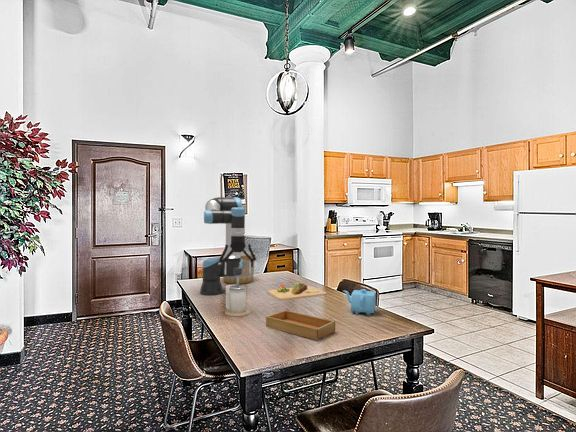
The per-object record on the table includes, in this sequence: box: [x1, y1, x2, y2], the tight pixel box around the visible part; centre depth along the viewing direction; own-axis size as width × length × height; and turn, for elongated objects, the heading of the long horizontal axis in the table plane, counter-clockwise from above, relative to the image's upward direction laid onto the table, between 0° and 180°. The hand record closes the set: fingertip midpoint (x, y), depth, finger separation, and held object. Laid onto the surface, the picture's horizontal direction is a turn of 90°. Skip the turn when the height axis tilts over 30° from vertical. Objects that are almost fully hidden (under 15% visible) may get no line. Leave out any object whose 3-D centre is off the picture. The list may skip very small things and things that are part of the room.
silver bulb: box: [230, 268, 246, 290], centre depth 202 cm, size 8×8×11 cm
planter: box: [220, 251, 256, 285], centre depth 285 cm, size 26×26×22 cm
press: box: [224, 287, 251, 317], centre depth 203 cm, size 14×14×13 cm
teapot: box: [343, 288, 377, 316], centre depth 206 cm, size 18×16×13 cm
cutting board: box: [266, 282, 328, 301], centre depth 248 cm, size 35×23×8 cm
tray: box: [265, 309, 336, 341], centre depth 177 cm, size 31×15×6 cm, turn 50°
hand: (237, 273), depth 203 cm, fingers open, 13 cm apart
